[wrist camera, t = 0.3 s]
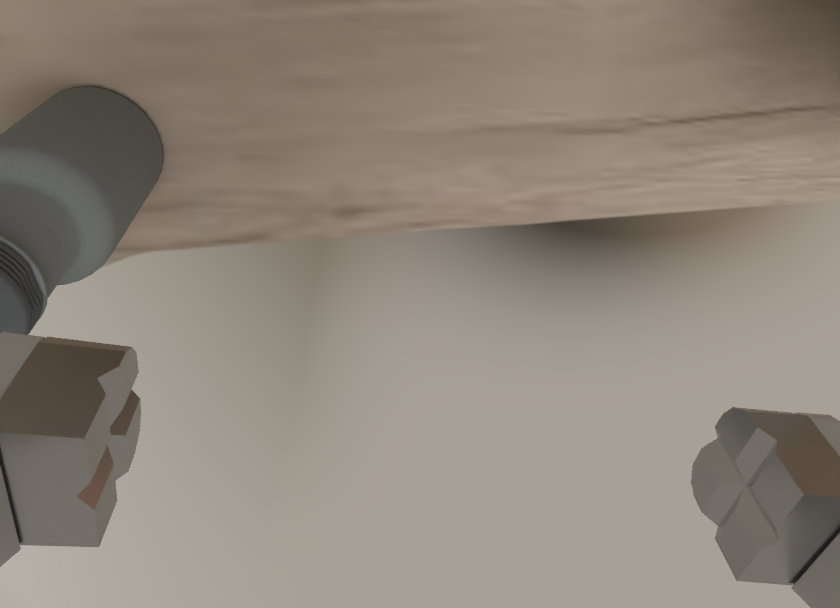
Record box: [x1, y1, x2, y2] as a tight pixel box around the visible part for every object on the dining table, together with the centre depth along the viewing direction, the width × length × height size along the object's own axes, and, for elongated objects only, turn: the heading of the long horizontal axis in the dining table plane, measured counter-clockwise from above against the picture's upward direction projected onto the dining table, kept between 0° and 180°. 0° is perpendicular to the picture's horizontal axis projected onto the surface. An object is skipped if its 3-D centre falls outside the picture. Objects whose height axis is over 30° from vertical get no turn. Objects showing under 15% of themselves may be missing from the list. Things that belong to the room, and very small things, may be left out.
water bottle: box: [0, 87, 163, 335], centre depth 42 cm, size 10×10×28 cm
